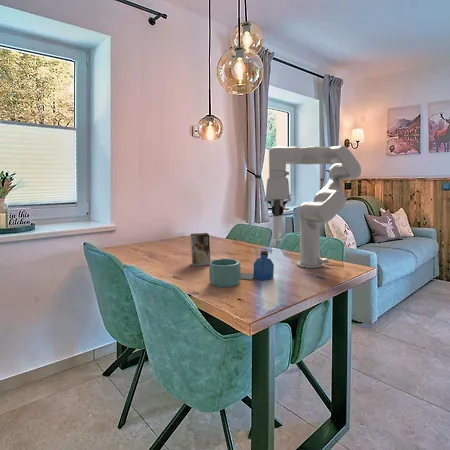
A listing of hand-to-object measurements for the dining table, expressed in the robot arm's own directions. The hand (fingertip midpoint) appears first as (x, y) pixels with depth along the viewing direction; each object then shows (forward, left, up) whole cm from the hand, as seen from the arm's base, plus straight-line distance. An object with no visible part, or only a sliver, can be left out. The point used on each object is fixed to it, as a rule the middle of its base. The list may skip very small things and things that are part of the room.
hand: (277, 214), depth 160 cm
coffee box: (+41, -4, -27) cm, 49 cm away
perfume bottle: (+4, +12, -27) cm, 30 cm away
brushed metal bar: (0, 0, -10) cm, 10 cm away
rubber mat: (+14, +12, -27) cm, 33 cm away
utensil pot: (+18, +23, -27) cm, 40 cm away
